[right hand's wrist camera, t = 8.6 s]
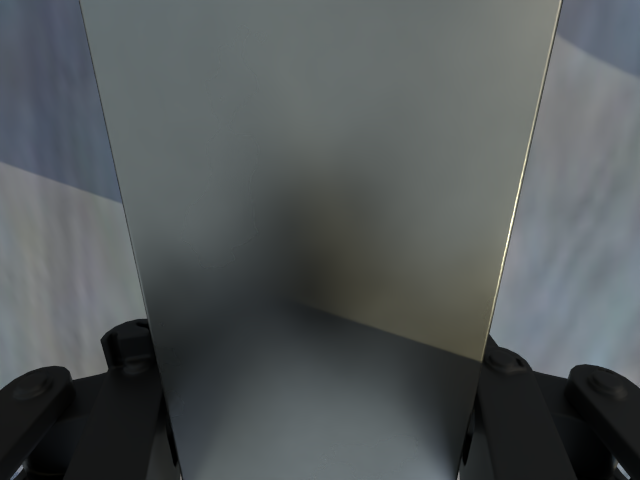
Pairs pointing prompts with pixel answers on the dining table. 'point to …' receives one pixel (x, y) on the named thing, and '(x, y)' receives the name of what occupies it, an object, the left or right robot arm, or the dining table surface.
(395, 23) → the bar
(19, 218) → the dining table surface
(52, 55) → the dining table surface
